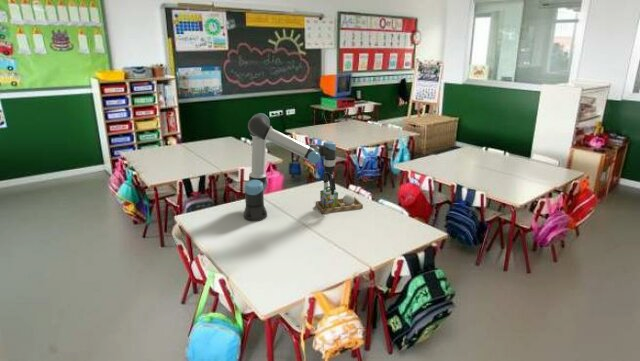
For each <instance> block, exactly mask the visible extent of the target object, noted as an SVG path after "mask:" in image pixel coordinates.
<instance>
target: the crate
mask: <svg viewBox="0 0 640 361" xmlns="http://www.w3.org/2000/svg"><path fill="white" fill-rule="evenodd" d="M353 197H354V203H353V204H352V205H350V206H347V205H345V204H344V203H343V197H342V198H338V207H334V208H326V209H324V208H322V207H321V206H320V200H317V201H316V200H315V207H316V209H317V210H318V211H319V212H320V214H321V215H326V213H333V212H342V211H351V210H358V209H359V210H360V209H363V208H364V204H363V203H362V202H361V201H360V200H359V199H357V198H356V197H355V196H353Z"/></svg>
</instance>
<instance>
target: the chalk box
mask: <svg viewBox="0 0 640 361" xmlns="http://www.w3.org/2000/svg"><path fill="white" fill-rule="evenodd" d="M319 191H320V195H319V198H320V199H319V201H320V206H321V207H322V208H324V209H326V208H334V207H338V199H339V192H338V191H336V190H334V199H330V185H328V187H326V190H324V189H322V190H319Z"/></svg>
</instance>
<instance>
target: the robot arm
mask: <svg viewBox="0 0 640 361" xmlns="http://www.w3.org/2000/svg"><path fill="white" fill-rule="evenodd" d="M270 121H271V120H270V118H269V116H267V115H266V114H265V113H261V112H259V113H256V114H254V115H253V116H252V117H251V118H250V120H248V123H247V128H248V131H249V135H250V136H251V137H252V139H251V140H252V141H251V144H252V145H251V171H250V173H249V175H248V181H246V182H245V183H244V197H245V198H244V199H245V207H244V211H243V219H244V220H246V221H250V222H259V221H263V220H265V219H267V217H268V212H267V208H266V207H265V201H264V200H265V199H264V198H265V197H264V194H265V192H266V189H267V188H268V180H267V177H268V175H267V173H266V171H265V168H266V145H267V144H266V143H267V142H266V141H269V142H272V143H273V144H275V145H276V146H279V147H280V148H281V147H282V148H283V149H286V150H288V151H290V152H292V153H294V154H296V155H297V156H300V157H302V158H304V159H306V160H307V161H308V162H309V163H310V164H312V165H313V164H315V165H316V164H318V162H320V159H321V157H323V171H324V172H323V177H322V181H323V190H326V187H328V186H330V188H329V189H330V199H334V190H335V191H336V190H337V189H336V182H335V181H336V180H335V174H333V173H334V172H336V162H337V159H336V156H337V155H336V153H337V152H336V151H337V145H336V144H337V143H336V142H334V141H325V142H324V143H323V144H305V143H303V142H300V140H299V141H298V140H297V139H294V138H292V137H290V136H288V135H286V134H284V133H283V132H280V131H279V130H276V129H274V128H273V126H272V125H270V124H271V122H270Z"/></svg>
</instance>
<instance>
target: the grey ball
mask: <svg viewBox="0 0 640 361" xmlns="http://www.w3.org/2000/svg"><path fill="white" fill-rule="evenodd" d="M354 197H355V196H354V195H352V193H351V194H350V193H347V194H344V196H343V197H342V198H343V203H344V204H345V205H347V206H350V205H352V204H353V203H354Z"/></svg>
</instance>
